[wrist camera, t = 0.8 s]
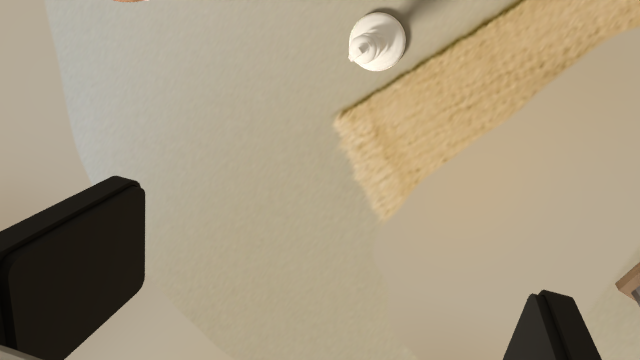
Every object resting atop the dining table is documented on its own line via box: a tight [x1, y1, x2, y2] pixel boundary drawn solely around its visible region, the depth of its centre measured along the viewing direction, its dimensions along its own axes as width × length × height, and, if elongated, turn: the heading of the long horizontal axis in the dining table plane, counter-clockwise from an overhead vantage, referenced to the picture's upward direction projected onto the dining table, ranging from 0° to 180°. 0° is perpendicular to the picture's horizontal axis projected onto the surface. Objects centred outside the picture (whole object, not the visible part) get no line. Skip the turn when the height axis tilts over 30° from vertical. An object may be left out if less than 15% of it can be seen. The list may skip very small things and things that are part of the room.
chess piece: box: [348, 12, 406, 71], centre depth 35 cm, size 5×5×10 cm
